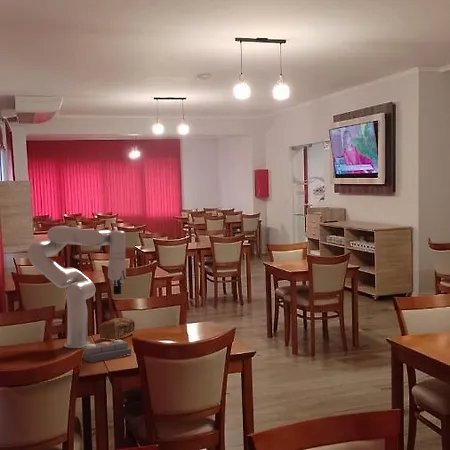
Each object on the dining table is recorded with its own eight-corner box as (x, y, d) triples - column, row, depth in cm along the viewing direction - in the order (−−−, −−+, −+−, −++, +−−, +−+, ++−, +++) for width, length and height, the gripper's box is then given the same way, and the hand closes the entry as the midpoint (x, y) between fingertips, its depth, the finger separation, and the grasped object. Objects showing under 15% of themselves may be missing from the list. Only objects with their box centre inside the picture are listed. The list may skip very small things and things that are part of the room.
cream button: (84, 350, 275) (84, 344, 275) (93, 349, 278) (93, 343, 278) (89, 352, 272) (89, 346, 272) (97, 350, 275) (97, 345, 275)
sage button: (112, 346, 284) (112, 340, 284) (119, 344, 287) (119, 339, 287) (116, 347, 281) (116, 342, 281) (124, 346, 284) (124, 341, 284)
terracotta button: (98, 348, 280) (98, 342, 280) (106, 346, 283) (106, 341, 283) (103, 350, 277) (103, 344, 277) (111, 348, 279) (111, 343, 279)
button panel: (78, 357, 278) (78, 345, 277) (118, 350, 291) (118, 338, 291) (90, 362, 268) (90, 350, 268) (131, 355, 282) (131, 343, 282)
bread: (115, 342, 308) (115, 322, 308) (98, 339, 313) (98, 320, 313) (135, 334, 325) (135, 316, 325) (119, 332, 330) (119, 314, 329)
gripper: (103, 255, 294) (102, 292, 295) (118, 257, 283) (118, 296, 284) (116, 254, 299) (116, 291, 300) (132, 257, 288) (132, 295, 289)
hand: (117, 293), depth 292 cm, fingers closed
